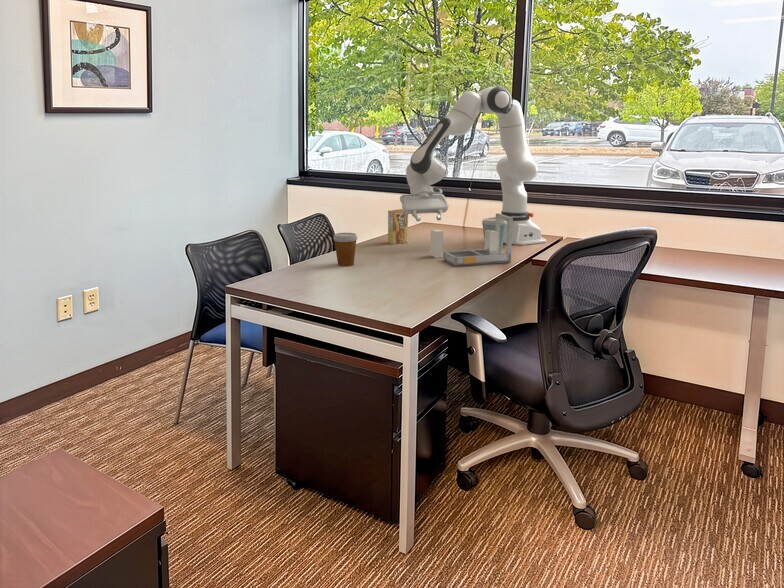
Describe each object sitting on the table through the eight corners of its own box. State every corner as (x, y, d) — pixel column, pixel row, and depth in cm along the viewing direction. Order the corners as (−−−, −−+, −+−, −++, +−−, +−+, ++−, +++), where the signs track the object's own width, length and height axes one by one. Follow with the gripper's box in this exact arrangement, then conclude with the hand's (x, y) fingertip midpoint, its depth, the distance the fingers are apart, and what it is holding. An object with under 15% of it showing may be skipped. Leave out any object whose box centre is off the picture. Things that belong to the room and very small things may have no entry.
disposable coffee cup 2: (486, 255, 268) (488, 220, 264) (476, 250, 278) (477, 216, 274) (509, 254, 270) (511, 219, 266) (499, 249, 280) (500, 215, 276)
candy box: (402, 241, 300) (402, 208, 296) (408, 242, 297) (408, 209, 293) (387, 243, 295) (387, 210, 291) (393, 244, 292) (393, 211, 288)
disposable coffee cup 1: (333, 262, 256) (333, 232, 253) (357, 261, 257) (357, 232, 254) (333, 267, 247) (332, 236, 244) (358, 267, 248) (357, 236, 245)
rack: (497, 256, 266) (499, 213, 261) (511, 262, 255) (513, 217, 250) (443, 260, 259) (444, 216, 254) (455, 266, 248) (456, 220, 243)
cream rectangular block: (438, 255, 269) (438, 229, 266) (442, 257, 265) (443, 231, 262) (430, 255, 268) (430, 229, 265) (434, 257, 264) (435, 231, 261)
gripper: (400, 190, 272) (407, 216, 266) (445, 189, 278) (453, 214, 271) (397, 199, 277) (404, 225, 271) (441, 198, 283) (448, 223, 277)
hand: (429, 220), depth 271 cm, fingers open, 8 cm apart
